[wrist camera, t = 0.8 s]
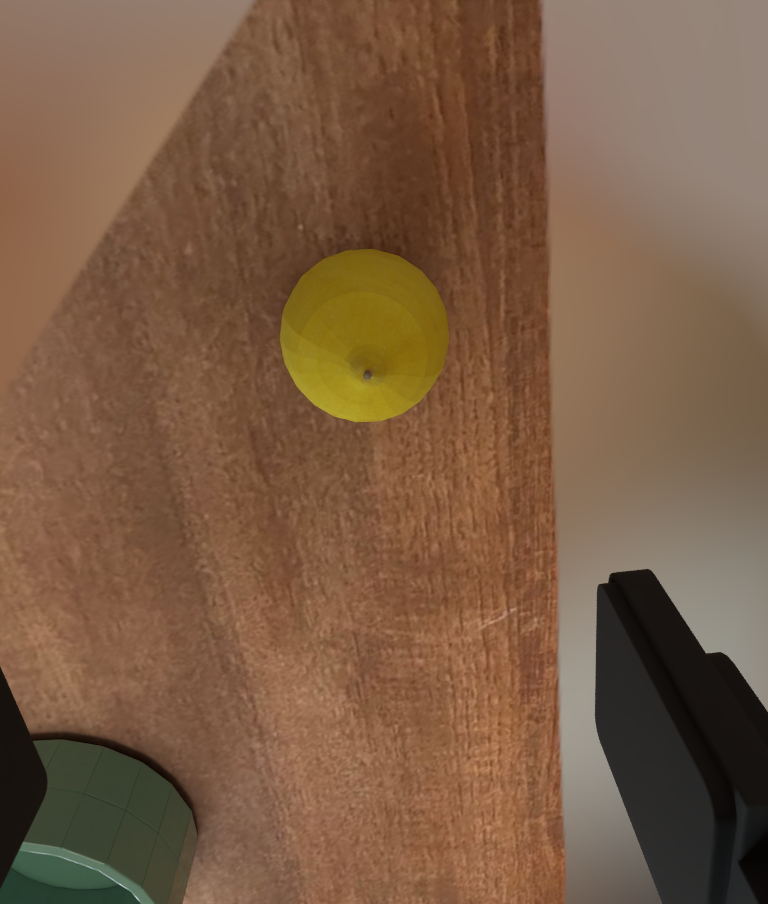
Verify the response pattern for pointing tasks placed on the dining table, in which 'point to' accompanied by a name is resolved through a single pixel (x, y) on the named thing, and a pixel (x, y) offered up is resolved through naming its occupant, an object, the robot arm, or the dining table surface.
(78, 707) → the dining table surface
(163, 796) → the green pet bowl
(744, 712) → the robot arm
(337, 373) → the fruit
